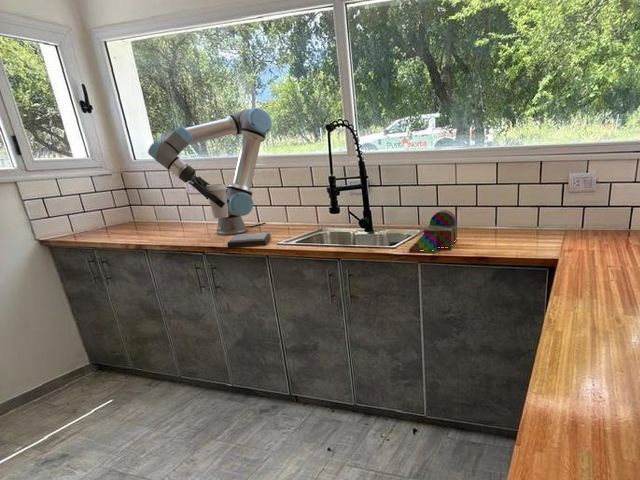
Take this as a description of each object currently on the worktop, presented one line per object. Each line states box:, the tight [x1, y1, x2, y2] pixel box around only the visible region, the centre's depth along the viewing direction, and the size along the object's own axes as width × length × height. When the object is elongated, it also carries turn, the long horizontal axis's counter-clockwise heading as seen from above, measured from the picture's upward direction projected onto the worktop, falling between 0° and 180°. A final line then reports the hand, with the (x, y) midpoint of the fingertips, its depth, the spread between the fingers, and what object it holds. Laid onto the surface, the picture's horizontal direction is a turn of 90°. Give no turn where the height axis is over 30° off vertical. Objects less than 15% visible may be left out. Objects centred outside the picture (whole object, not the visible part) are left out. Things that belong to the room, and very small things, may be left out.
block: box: [408, 209, 458, 254], centre depth 196 cm, size 25×17×14 cm
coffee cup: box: [206, 183, 228, 219], centre depth 213 cm, size 10×10×15 cm
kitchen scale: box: [226, 232, 272, 249], centre depth 217 cm, size 18×17×3 cm
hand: (225, 204), depth 214 cm, fingers closed on coffee cup, 10 cm apart
